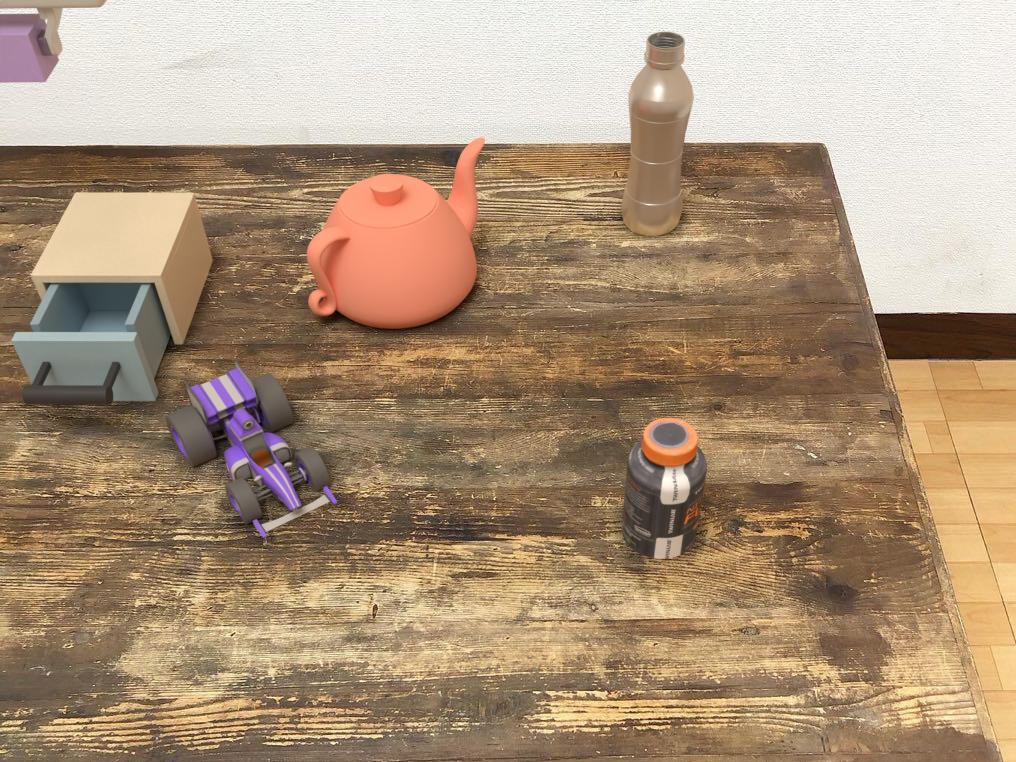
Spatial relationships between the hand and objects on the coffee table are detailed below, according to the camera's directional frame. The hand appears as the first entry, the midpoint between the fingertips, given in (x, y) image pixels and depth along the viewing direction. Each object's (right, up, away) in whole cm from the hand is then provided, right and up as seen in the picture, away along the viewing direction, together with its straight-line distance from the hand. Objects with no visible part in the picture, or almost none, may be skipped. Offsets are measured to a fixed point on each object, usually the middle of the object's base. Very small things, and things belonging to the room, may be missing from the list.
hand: (22, 53), depth 100 cm
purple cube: (0, -1, +1) cm, 2 cm away
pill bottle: (+58, -45, -14) cm, 75 cm away
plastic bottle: (+60, -12, +15) cm, 63 cm away
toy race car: (+25, -40, -9) cm, 48 cm away
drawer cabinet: (+9, -22, +6) cm, 25 cm away
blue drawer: (+9, -30, -2) cm, 31 cm away
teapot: (+35, -20, +8) cm, 41 cm away
